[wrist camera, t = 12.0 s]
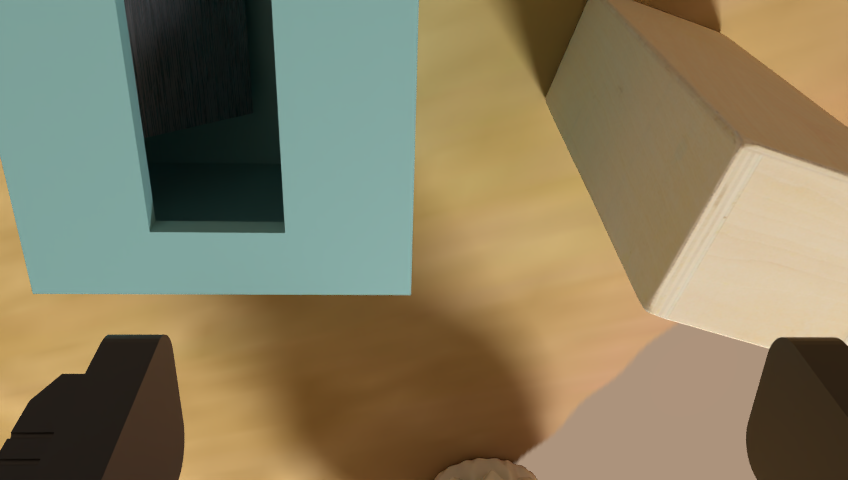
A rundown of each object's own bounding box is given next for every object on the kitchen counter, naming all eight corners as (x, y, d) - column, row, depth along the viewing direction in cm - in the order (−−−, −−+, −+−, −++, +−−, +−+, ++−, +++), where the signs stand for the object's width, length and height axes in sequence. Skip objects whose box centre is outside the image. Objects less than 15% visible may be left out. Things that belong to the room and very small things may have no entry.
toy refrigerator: (533, 112, 45) (634, 331, 27) (589, -16, 42) (747, 132, 24) (661, 154, 47) (839, 389, 28) (724, 33, 43) (971, 209, 25)
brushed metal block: (211, -41, 40) (66, -26, 36) (242, -30, 38) (92, -14, 34) (224, 97, 43) (93, 125, 39) (253, 113, 41) (118, 144, 37)
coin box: (70, -145, 38) (-65, -118, 27) (411, -134, 39) (421, -105, 28) (120, 169, 46) (33, 293, 34) (405, 172, 47) (411, 294, 35)
